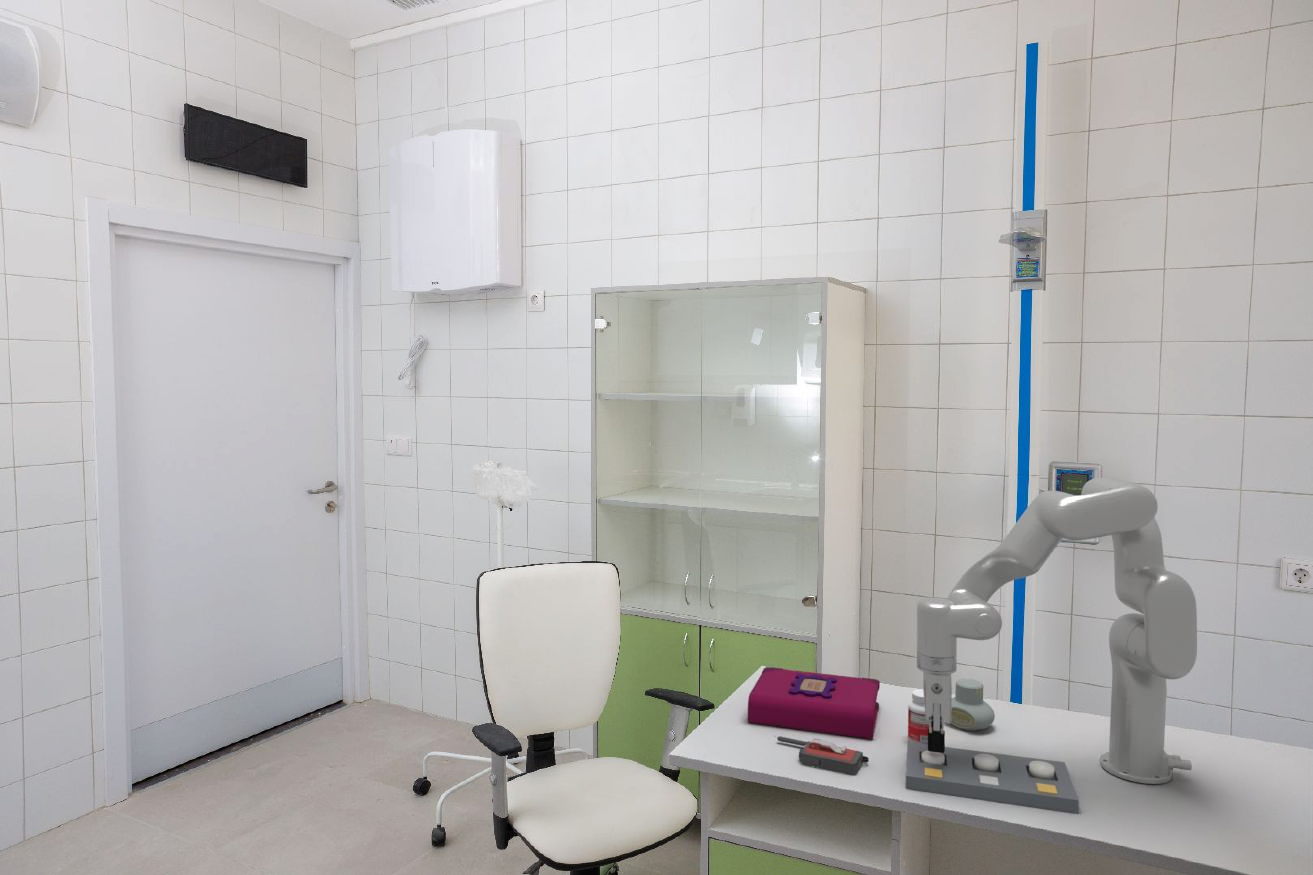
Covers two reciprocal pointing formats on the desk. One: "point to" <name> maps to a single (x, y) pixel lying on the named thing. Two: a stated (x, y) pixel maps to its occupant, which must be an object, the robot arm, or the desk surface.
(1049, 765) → the near button
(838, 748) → the walkie-talkie
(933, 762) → the far button
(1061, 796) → the button board
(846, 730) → the book
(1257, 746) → the desk surface
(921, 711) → the pill bottle
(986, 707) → the air freshener
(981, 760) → the middle button
